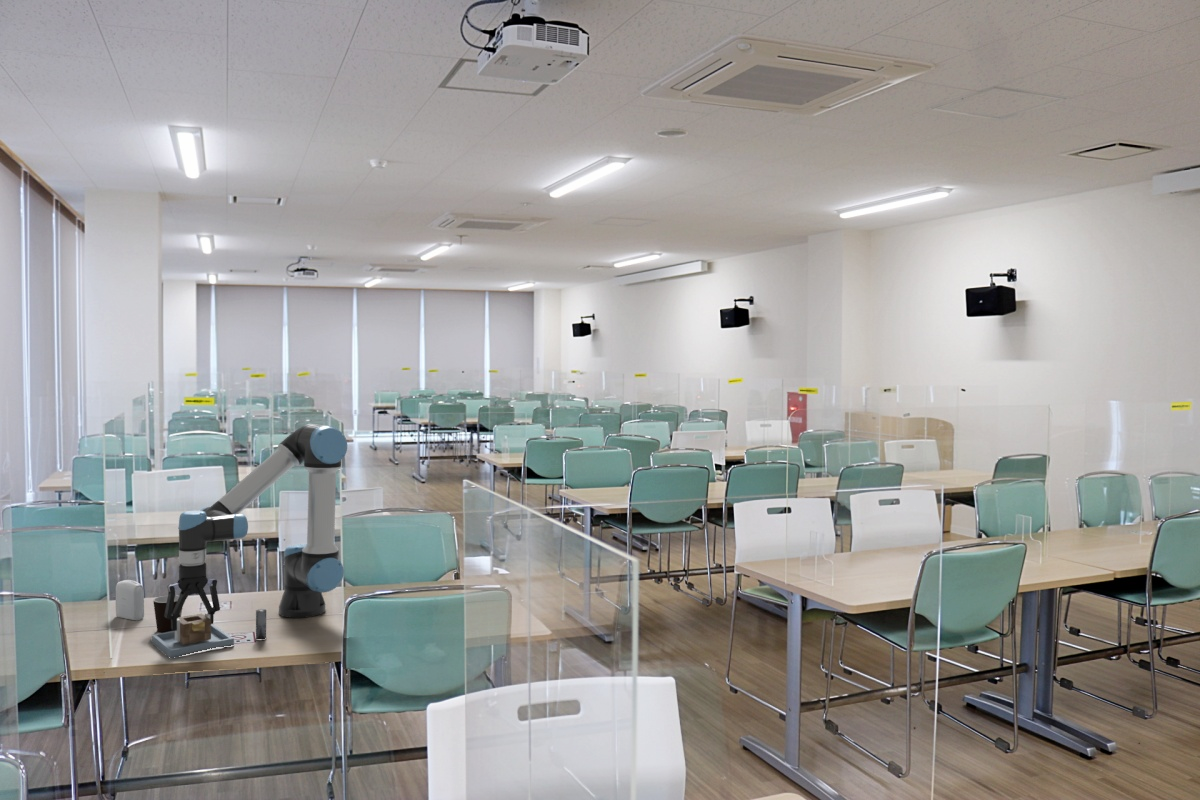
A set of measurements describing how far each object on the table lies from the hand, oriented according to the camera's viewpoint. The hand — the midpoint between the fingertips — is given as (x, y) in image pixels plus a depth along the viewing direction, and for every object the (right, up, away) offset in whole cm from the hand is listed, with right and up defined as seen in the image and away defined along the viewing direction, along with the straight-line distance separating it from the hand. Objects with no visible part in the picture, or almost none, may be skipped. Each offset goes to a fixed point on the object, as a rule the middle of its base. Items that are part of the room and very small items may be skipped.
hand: (192, 637), depth 277 cm
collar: (0, 0, 0) cm, 0 cm away
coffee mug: (-13, -1, +15) cm, 20 cm away
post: (+18, -2, +7) cm, 19 cm away
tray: (0, -2, 0) cm, 2 cm away
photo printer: (-32, 0, +25) cm, 41 cm away
